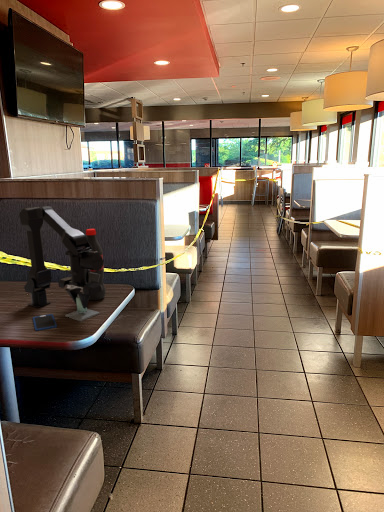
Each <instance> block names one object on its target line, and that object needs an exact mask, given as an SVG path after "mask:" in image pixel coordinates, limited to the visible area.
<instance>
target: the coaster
mask: <svg viewBox="0 0 384 512" xmlns="http://www.w3.org/2000/svg"><path fill="white" fill-rule="evenodd" d="M98 315H100V311H96V310H93V309H90V308H87V311H86V312H83V313H79V312H77V310H74V311H72V312H69V313H67V314H65V318H68V317H69V319H72V320H74V321H78V322H83V321H86V320H88V319H90V318H93V317H95V316H98Z"/></svg>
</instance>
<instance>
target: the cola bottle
mask: <svg viewBox="0 0 384 512" xmlns="http://www.w3.org/2000/svg"><path fill="white" fill-rule="evenodd" d="M96 235H97V231H96V228H88V229H86V230H85V236H86V237H87V240H88V241H89V243H90V245H91V246H92V248H93V250H94V251H93V252H95V251H97V252H98V253H99V255H100V256H101V257H102V259H103V260H104V257H103V256H104V255H103V254H104V252H103V251H104V250H103V248H102V245H101V244H100V242H99V241H98V239H97V236H96ZM84 248H85V247H84ZM90 272H92V273H97V274H100V278H99V282H96V281H91V283H98V284H100V285H102V291H101V292H98V293H95V294H92V295H90V297H89V300H88V301H100V300H102V299H104V298H105V296H106V292H107V290H106V287H105V284H104V274H105V267H104V265H103V266H102V268H101V269H100V270H99V271H95V270H90ZM91 283H87V285H88V284H91Z"/></svg>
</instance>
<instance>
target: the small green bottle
mask: <svg viewBox="0 0 384 512" xmlns="http://www.w3.org/2000/svg"><path fill="white" fill-rule="evenodd" d="M76 303H77V306H76V311H77V312H79V313H83V312H86V311H87V309H88V306H87V307H86V308H85V309H84V308H83V306H82V303H81V300H80V298H79V295H78V294H77V297H76Z"/></svg>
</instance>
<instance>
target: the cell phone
mask: <svg viewBox="0 0 384 512" xmlns="http://www.w3.org/2000/svg"><path fill="white" fill-rule="evenodd" d="M55 319H56V318H55V316H54V314H53V313H50V314H42V315H37V316H32V322H33V327H34V331H35V332H39V331H47V330H51V329H55V328H57V327H58V325H57V322H56V320H55Z"/></svg>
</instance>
